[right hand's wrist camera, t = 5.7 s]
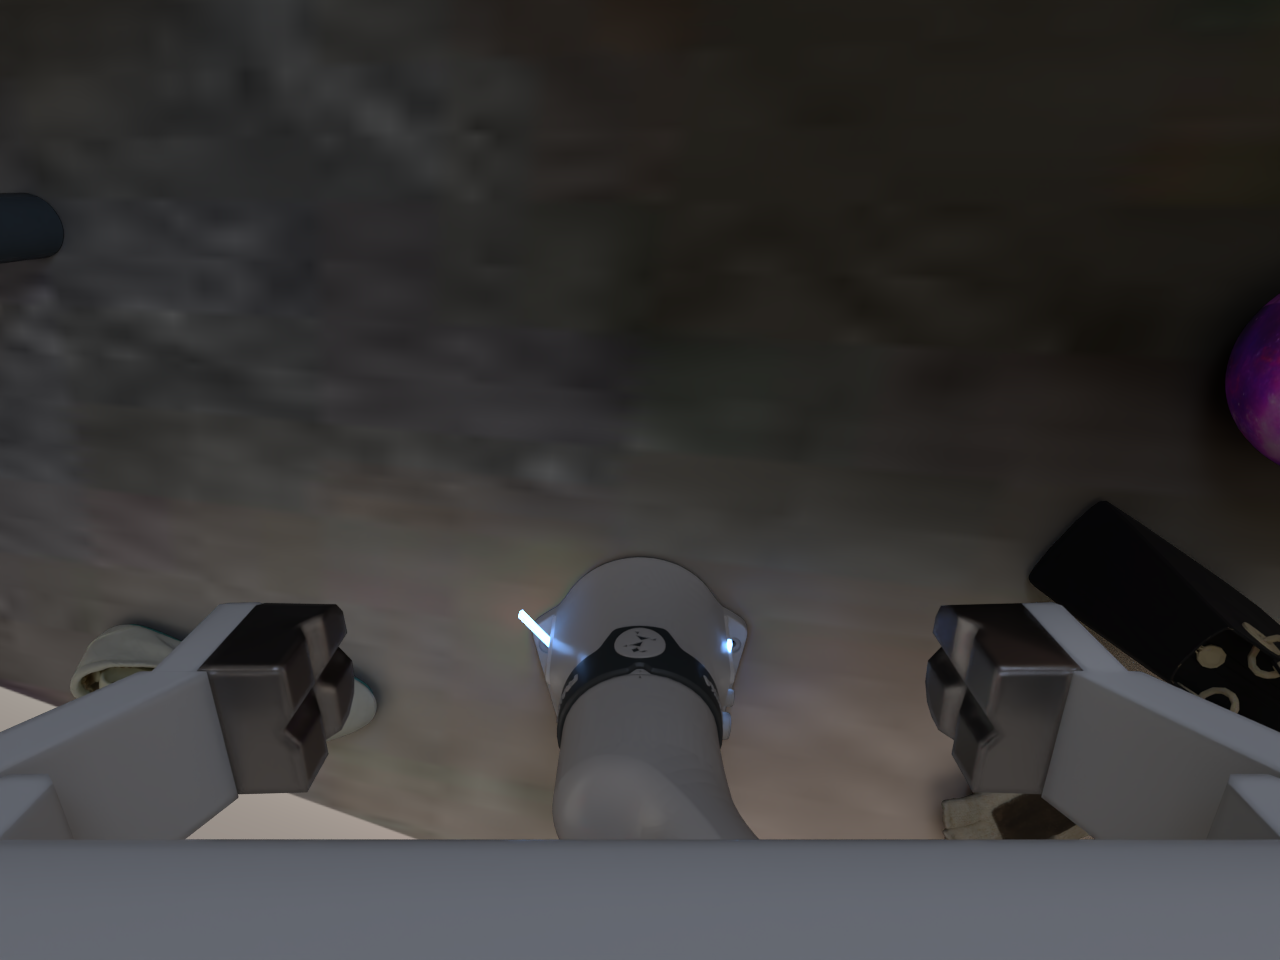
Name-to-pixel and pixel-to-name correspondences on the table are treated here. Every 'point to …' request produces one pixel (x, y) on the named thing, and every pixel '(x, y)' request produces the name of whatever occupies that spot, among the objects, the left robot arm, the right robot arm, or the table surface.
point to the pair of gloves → (1006, 818)
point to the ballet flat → (147, 647)
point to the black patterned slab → (1166, 612)
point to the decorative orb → (1257, 381)
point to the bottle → (27, 228)
